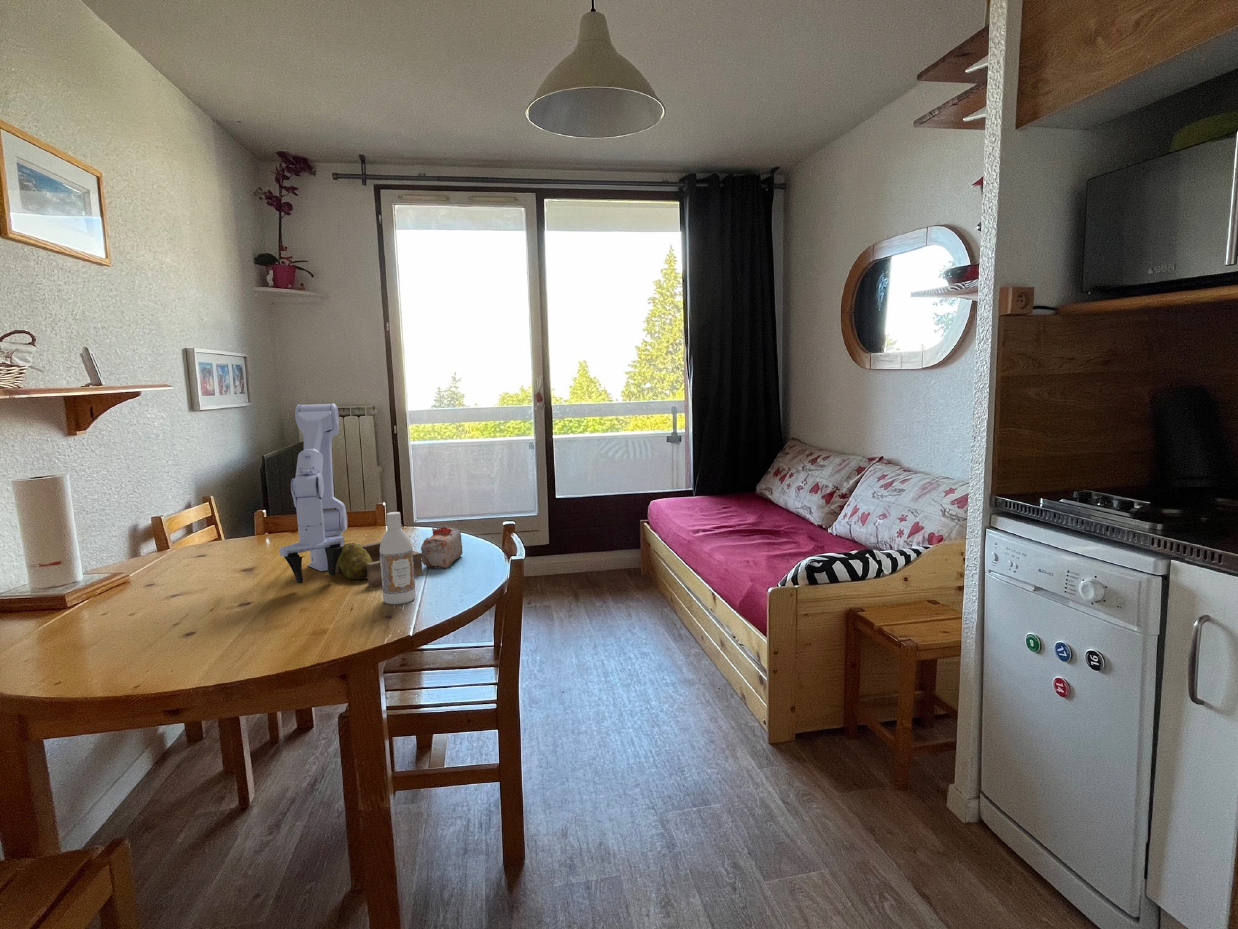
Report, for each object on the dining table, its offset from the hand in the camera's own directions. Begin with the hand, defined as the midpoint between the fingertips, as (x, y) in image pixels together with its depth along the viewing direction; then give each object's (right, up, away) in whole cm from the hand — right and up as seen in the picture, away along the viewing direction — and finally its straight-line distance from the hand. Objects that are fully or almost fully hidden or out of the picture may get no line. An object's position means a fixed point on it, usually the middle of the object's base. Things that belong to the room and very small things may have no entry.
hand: (316, 579), depth 158 cm
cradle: (+11, 0, +10) cm, 15 cm away
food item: (+26, +1, +18) cm, 32 cm away
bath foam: (+25, -3, -12) cm, 27 cm away
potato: (+6, -1, +8) cm, 10 cm away
